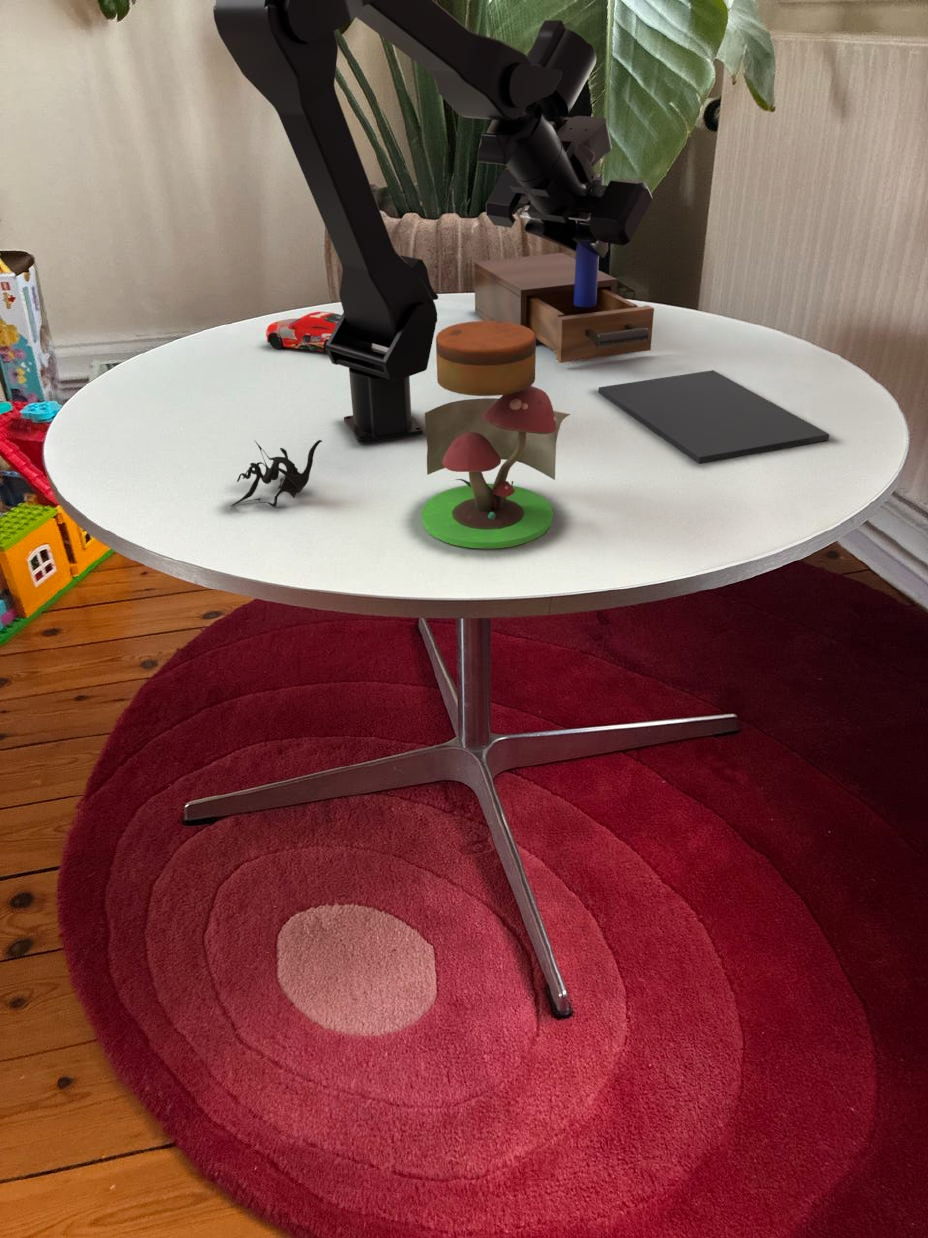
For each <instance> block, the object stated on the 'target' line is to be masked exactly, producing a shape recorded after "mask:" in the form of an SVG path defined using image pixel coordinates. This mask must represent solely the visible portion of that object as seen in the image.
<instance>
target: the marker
mask: <svg viewBox="0 0 928 1238" xmlns="http://www.w3.org/2000/svg"><path fill="white" fill-rule="evenodd" d="M594 184H597V185H604V177H602V176H597V175H595V177H594V179H593V181H592V183H591V184H589V183H587V185H586V189H588V188H589V187H590V186H592V185H594ZM576 223H577V229H578V227H579V225H580V223H579V221H578V220H576ZM575 259H576V263H575V287H574V305H575V306H578V307H592V306H595V305H596V301H597V282H598V270H599V260H600V256H598V255H596V254H594V253H593V252H591V251H590V250H588V249H587V248H585V247H584V246H582V245H580V244H579V243H577V242H576V252H575Z"/></svg>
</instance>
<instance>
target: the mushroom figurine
mask: <svg viewBox="0 0 928 1238" xmlns="http://www.w3.org/2000/svg"><path fill="white" fill-rule="evenodd" d="M435 351H436V352H435V353H436V379H437V384H438V385H439V386H440V387H441V388H443V389H444V390H447V391H449V392H451V393H455V394H458V395H465V396H474V397H475V396H476V397H491V398H471V399H470V398H469V399H461V400H455V401H451V402H448V403H444V404H442V405H439V406H437V407H434V408H432V409H430V410H427V411H426V412H425V413H424V429H425V430H424V431H425V438H426V445H427V446H426V447H427V448H426V450H427V451H426V475H427V476H428V475H431V474H433V473H435V472H438V471H441V470H443V469H446V470H447V471H451V472H454V473H455V472H456V473H468V478H469V479H468V480H469V481H467V480H466V479H463V478H457V479H455V481H461V482H463V483H465V484H466V485H460V486H456V487H453V488H452V487H451V488H450V489H446V490H444V491H441V492H439V493H437V494H436V495H434V496H432V497H431V498H429V499H428V500H427V501H426V502H425V504H424V505H423V507H422V509H421V523H422V526H423V527H424V529H425V530H426V531H427V533H429V534H430V535H431V536H433V537H434V538H435V539H438V540H440V541H442V542H444V543H447V544H450V545H454V546H457V547H462V548H471V549H503V548H509V547H514V546H518V545H519V546H520V545H522V544H525V543H526V544H527V543H528V542H530V541H533V540H536V539H537V538H539V537H540V536H542V535H543V534H545V533H546V532H547V531H548V530H549V528H550V527H551V525H552V522H553V512H554V511H553V507H552V505H551V504H550V502H549V501H547V499H546V498H544V496H542V495H540V494H538V493H537V492H534V491H532V490H530V489H527V488H524V487H520V486H515V485H514V481H513V480H511V483H510V482H509V481H508V480H507V479H508V475H509V472H510V469H511V468H512V467H513V466H514V464H516V462H518V463H521V464H524V465H526V466H529V467H530V468H532V469H534V470H536V471H538V472H540V473H541V474H543V475H545V476H546V477H549V478H550V479H551V480H554V481H556V463H557V462H556V461H557V441H558V436H559V431H560V429H561V428H560V427H561V424H562V422H563V421H564V420H565V419H566V418H567V417H569V416H570V415H571V413H567V412H561V411H555V410H554V408H553V405H552V401H551V399H550V396H549V395H548V394H547V392H546V391H545V390H543V389H541V388H539V387H536V386H533V384H534V383H535V382H536V359H537V358H536V357H537V356H536V354H537V344H536V336H535V333H534V332H533V331H532V330H531V329H529V328H527V327H525V326H522V325H519V324H515V323H510V322H501V321H485V320H477V321H475V320H474V321H467V322H460V323H457V324H454V325H452V324H451V325H449V326H447V327H445V328H443V329H441V330H440V331H439V332H437V335H436V336H435ZM495 396H499V398H494V397H495ZM492 397H493V398H492ZM502 460H506V461H504V463H502V464H501V462H502ZM499 465H501V466H500V468H499V470H498V472H497V475H496V477H495V479H494V481H493V483H487V481H486V479H485V477H484V475H483V472H489V471H492V470H495V469H496V468H498V467H499Z"/></svg>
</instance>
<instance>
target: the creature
mask: <svg viewBox="0 0 928 1238" xmlns="http://www.w3.org/2000/svg"><path fill="white" fill-rule="evenodd" d="M253 441H254V443H256V445H257V447H258V449H259V451H260V454H261V456H262V459H263V462H262V461H259V462H250V463H249V465H250V466H249V467H248V469H247V470H246V472H245V473H244V472H241V473H240V474H239V475H238V478H237V480H236V483H238V482H239V481H240V480H241V478H242V479H243V480H244V479H246V480H249V479H250V478H251V476H252V475H255V479H254V481H253V482H252V484H251V486H250V488H249V490H248V491H247V493H246V494H245V495H243V496H242V498H240V499H239V500H237V501H236V502H235V503H233V504H231V505H230V507H233V506H235V505H238V504H242V503H247V502H252V501H258V502H259V503H261V504H268V505H270V506H271V507H272V508H275V507H277V505H278V497H280V495H281V494H282V493H283V492H285V493H287V494H290V496H292V498H293V499H295V497H296V495H297V494H299V493H301V491H303V490H304V488H305V487H306V485H307V484H308V481H309V480H310V474H311V470H312V467H313V461H314V455H315V451H316V449H317V447H318V446H319V445H320V443H324V442H323V440H322V439H318V440H316V442H314V444H312V446H311V447H310V449H309V451H308V454H307V461H306V466H305V468H304V470H303V472H299V470H298V467H296V465H295V463H294V462H293V461H291V460H290V459H289V456H288V452H287V450H286V449H285V448H283V447H280V448H279V450H280V451H281V453H282V454H283V456H274V457H270V456H268V454H267V453H266V452H265V450H264V449H263V447H261V445H260V444H259V443H258V442H257V440H255V439H253ZM263 453H264V454H265V455H266V457H267V458H268V460H270V461H272V464H271V466H270V467H269V466H268V464H267V463H266V460H265V458H264V455H263ZM280 464H283V465H284V466H285V469H283V468H282V467H280ZM260 465H263V466H264V467H265V472H264V474H263V473H262V469H261V468H262V467H261V466H260ZM280 473H281V474H282V475H284V476H283V477H281V478H280V479H279V482H280V483H279V486H278V487H277V490H278V491H277V493H276V494H275V496H274V499H273V503H272V502H269V501H263V502H262V501H261V499H262V498H261V497H258V498H253V499H250V500H247V499H249V498H251V497H252V496H253V495H254V494H255V492H256V490H257V488H258V486H259V482H260V481H262V483H263V484H265V485H269V484H271V483H272V481H277V479H278V478H279V475H280ZM283 478H284V479H283Z"/></svg>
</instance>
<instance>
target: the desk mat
mask: <svg viewBox="0 0 928 1238" xmlns="http://www.w3.org/2000/svg"><path fill="white" fill-rule="evenodd" d="M597 392H598V393H599V394H600V395H601V396H603V397H604V398H606V400H608V401H610V402H611V403H613V404H614V405H615V406H617V407H619V409H621V410H622V411H624V412H625V413H626V414H628V415H630V416H631V417H632V418H634V419H635V420H637V421H638V422H640V424H642V425H644V426H645V427H647V428H648V429H650V430H651V431H653V432H654V434H657V435H658V436H659V437H661V438H662V439H664V440H665V441H666V442H668V443H669V444H670V445H672V446H674V447H675V448H677V450H680V451H681V452H682V453H683V454H685V455H687V457H690V459H692V460H694V461H695V462H696V463H698V464H701V463H707V462H712V461H718V460H724V459H729V458H735V457H740V456H741V457H742V456H745V455H751V454H757V453H758V454H759V453H763V452H769V451H773V450H779V449H785V448H790V447H795V446H801V445H806V444H813V443H818V442H824V441H829V439H830V433H828V432H827V431H825V430H823V429H821V428H819V427H818V426H816V425H814V424H812V423H810V422H808V421H806V420H805V419H803V418H801V417H799V416H798V415H795V414H794V413H792V412H790V411H788V410H786V409H784V408H783V407H781V406H779V405H777V404H775V403H774V402H772V401H770V400H768V399H766V398H765V397H763V396H761V395H759V394H758V393H755V392H754V391H752V390H750V389H748V388H747V387H745V386H742V385H741V384H739V383H737V382H735V381H733V380H732V379H730V378H728V377H726V376H724V375H723V374H720V373H719V372H717V371H716V370H713V369H711V370H706V371H698V372H691V373H685V374H679V375H672V376H666V377H658V378H652V379H646V380H638V381H632V382H624V383H619V384H611V385H605V386H599V387H598V391H597Z"/></svg>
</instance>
